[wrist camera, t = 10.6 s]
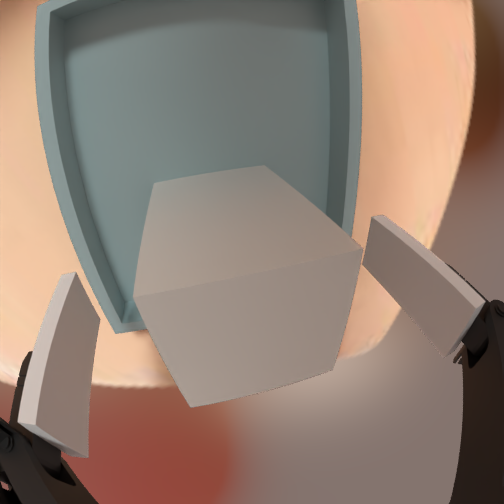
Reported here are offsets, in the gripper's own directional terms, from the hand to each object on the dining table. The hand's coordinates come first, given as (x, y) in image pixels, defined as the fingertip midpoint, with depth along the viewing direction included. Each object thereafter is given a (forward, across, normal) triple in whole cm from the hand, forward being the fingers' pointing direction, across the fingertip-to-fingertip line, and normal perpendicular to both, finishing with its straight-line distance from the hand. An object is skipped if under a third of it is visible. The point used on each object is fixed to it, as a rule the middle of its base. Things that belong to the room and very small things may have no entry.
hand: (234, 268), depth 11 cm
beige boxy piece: (+5, 0, 0) cm, 5 cm away
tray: (+6, 0, +4) cm, 7 cm away
